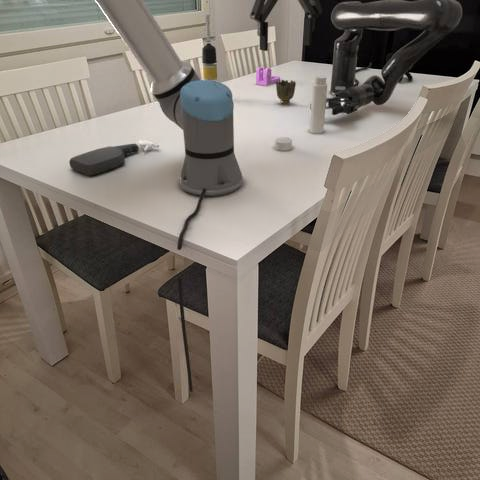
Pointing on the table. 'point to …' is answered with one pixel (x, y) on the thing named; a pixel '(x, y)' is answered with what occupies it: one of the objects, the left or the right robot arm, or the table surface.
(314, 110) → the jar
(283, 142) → the lid
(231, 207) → the table surface
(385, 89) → the right robot arm
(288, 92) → the cup
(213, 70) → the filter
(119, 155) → the spray bottle
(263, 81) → the bracket
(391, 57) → the squiggle
